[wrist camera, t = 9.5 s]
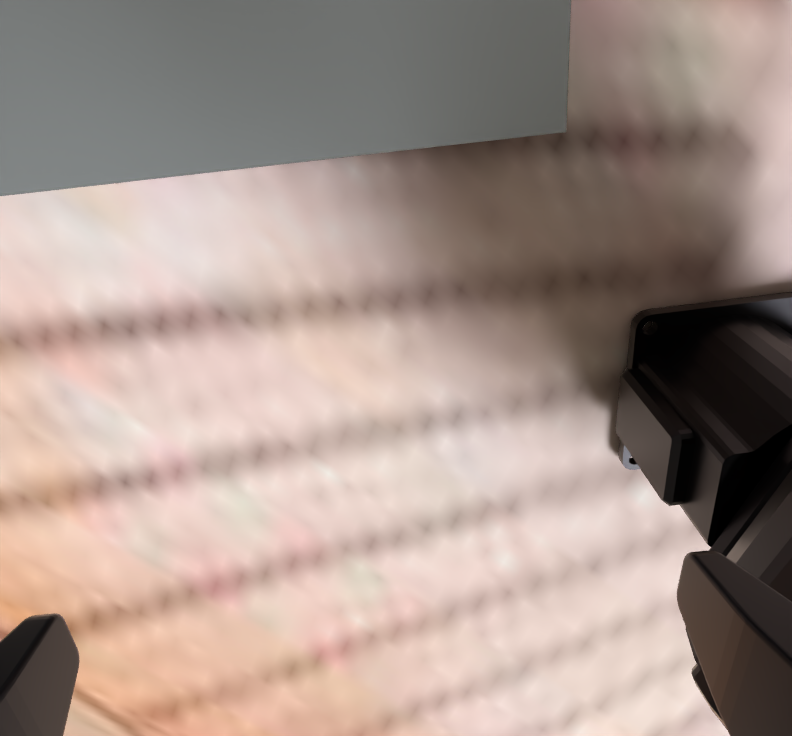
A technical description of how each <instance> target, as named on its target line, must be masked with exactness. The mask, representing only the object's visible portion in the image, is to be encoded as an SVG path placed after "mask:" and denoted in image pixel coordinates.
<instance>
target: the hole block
mask: <svg viewBox="0 0 792 736" xmlns="http://www.w3.org/2000/svg"><path fill="white" fill-rule="evenodd" d="M570 12H571V0H0V196H6V195H15V194H24V193H33V192H41V191H50V190H59V189H68V188H77V187H86V186H94V185H103V184H112V183H121V182H130V181H139V180H147V179H156V178H165V177H174V176H183V175H192V174H200V173H209V172H218V171H227V170H236V169H245V168H253V167H262V166H271V165H280V164H289V163H298V162H306V161H315V160H324V159H333V158H342V157H351V156H359V155H368V154H377V153H386V152H395V151H404V150H412V149H421V148H430V147H439V146H448V145H457V144H465V143H474V142H483V141H492V140H501V139H510V138H518V137H527V136H536V135H545V134H554V133H563V132H566V123H567V96H568V68H569V40H570Z"/></svg>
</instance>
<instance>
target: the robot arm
mask: <svg viewBox="0 0 792 736" xmlns="http://www.w3.org/2000/svg"><path fill="white" fill-rule="evenodd" d="M650 321H653V323H652V325H651V327H650V328H648V329H646V330H643V327H644V325H645V324H646V323H647V322H650ZM616 433H617V435H618V436H619V438H620V443H619V453H618V455H619V459H620V461H621V462H622V464H623V465H624V467H625V468H627V469H629V470H636V469H641V470H642V472H643V473H644V475H645V476H646V478H647V479H648V481H649V482H650V484H651V485H652V486H653V488H654V489H655V491H656V492H657V494H658V495H659V497H660V498H661V500H662V501H664V502H665V503H666V504H668V505H669V506H672V505H680V506H681V507H682V509H683V510H684V512H685V513H686V515H687V516H688V517H689V519H690V520H691V522H692V523H693V524H694V526H695V527H696V529H697V530H698V531H699V533H700V534H701V536H702V537H703V539H704V540H705V541H706V543H707V544H708V545H709V546H710V547H711V548H710V550H709V551H699V552H690V553H688V554H687V555H686V556H685V558H684V561H683V566H682V570H681V575H680V580H679V584H678V589H677V601H678V606H679V609H680V612H681V614H682V617H683V620H684V622H685V625H686V632H687V635H688V638H689V642H690V645H691V648H692V652H693V655H694V658H695V661H696V663H697V664H696V665H695V666H694V667H693V669H692V676H693V679H694V681H695V683H696V685H697V687H698V689H699V690H700V692H701V693H702V695H703V697H704V698H705V700H706V701H707V703H708V705H709V706H710V708H711V709H712V711H713V712H714V713H715V715H716V716H717V717H718V718H719V720H720V721H721V722H722V724H723V725H724V726H725V728H726V729H727V730H728V732H729V734H730V736H792V292H787V293H779V294H771V295H763V296H755V297H747V298H738V299H730V300H722V301H714V302H706V303H698V304H689V305H681V306H673V307H665V308H657V309H649V310H644V311H641V312H640V313H638V314H637V315H636V316H635V317H634V318H633V320H632V323H631V329H630V339H629V350H628V360H627V369H626V370H624V372H623V373H622V375H621V377H620V387H619V398H618V409H617V420H616ZM631 456H632V457H633V458H630V457H631ZM78 668H79V653H78V649H77V647H76V644H75V642H74V640H73V638H72V636H71V633H70V631H69V629H68V627H67V624H66V622H65V620H64V618H63V617H62V616H61V615H59V614H44V615H35V616H31V617H28V618H27V619H25V620H24V621H22V622H21V623H20V624H19V625H18V626H17V627H16V628H15V629H14V630H12V631H11V632H10V633H9V634H8V635H7V636H6V637H5V638H4V639H2V640H1V641H0V736H63V734H64V730H65V725H66V721H67V717H68V712H69V708H70V704H71V699H72V695H73V690H74V686H75V682H76V677H77V673H78Z"/></svg>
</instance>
